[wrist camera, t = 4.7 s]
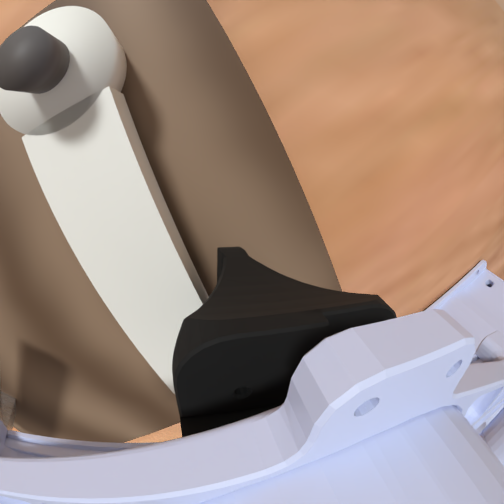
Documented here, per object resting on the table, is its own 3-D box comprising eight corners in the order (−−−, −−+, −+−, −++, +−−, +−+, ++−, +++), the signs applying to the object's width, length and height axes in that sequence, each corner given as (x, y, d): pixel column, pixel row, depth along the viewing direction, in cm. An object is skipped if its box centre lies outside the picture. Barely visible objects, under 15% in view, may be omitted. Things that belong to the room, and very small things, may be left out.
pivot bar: (18, 62, 6) (-14, 53, 4) (111, 10, 7) (97, -16, 5) (190, 394, 15) (196, 429, 13) (256, 369, 15) (270, 404, 13)
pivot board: (167, -47, 7) (175, -126, 2) (347, 321, 18) (398, 384, 13) (-119, 256, 6) (-159, 297, 1) (64, 449, 17) (60, 504, 12)
